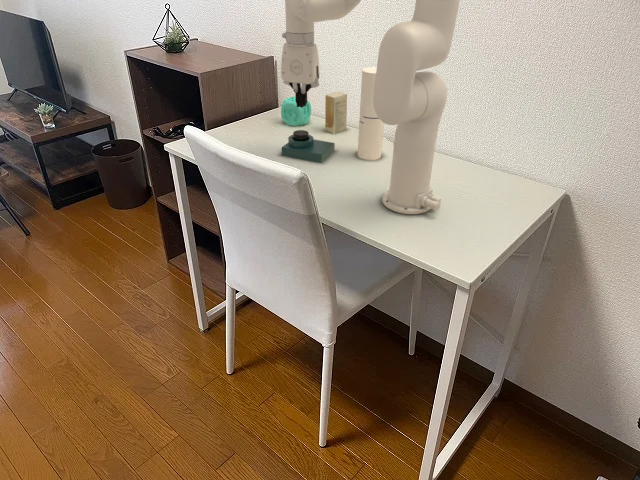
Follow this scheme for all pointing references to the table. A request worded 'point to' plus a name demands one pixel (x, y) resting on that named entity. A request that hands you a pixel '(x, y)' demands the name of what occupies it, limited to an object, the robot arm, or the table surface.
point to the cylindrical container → (369, 119)
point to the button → (300, 135)
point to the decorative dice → (295, 112)
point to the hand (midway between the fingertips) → (301, 105)
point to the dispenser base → (308, 149)
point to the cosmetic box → (335, 112)
